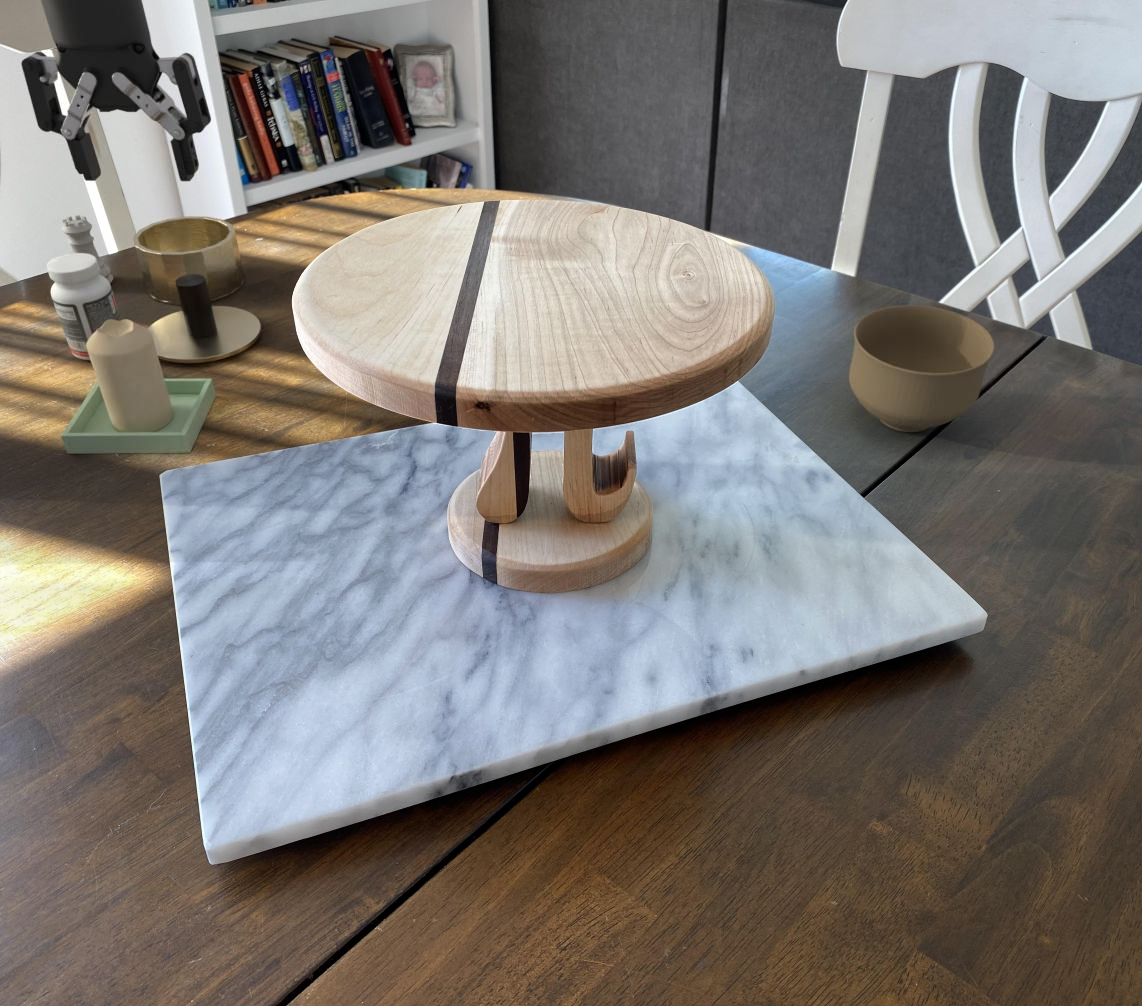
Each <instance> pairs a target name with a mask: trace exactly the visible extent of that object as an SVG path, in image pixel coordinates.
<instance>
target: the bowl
mask: <svg viewBox="0 0 1142 1006" xmlns="http://www.w3.org/2000/svg"><path fill="white" fill-rule="evenodd" d="M853 338H854V345H853V351H852V357H851V362H850V367H849V371H848V372H849V373H848V381H849V385H850V388H851V391H852V392H853V395H854V397H856V399H857V400H858V402H859V403H860V405H861V406H862V407H863V408H864V409H865V410H866V411H867V412H869V414H871V415H872V416H874V417H875V418H877V419H879V421H880V422H881V423H882V424H883V425H885V426H886V427H887V428H890V429H892V430H895V431H899V432H903V433H918V432H922V431H925V430H927V429H930V428H935V427H937V426H942V425H944V424H947V423H949V422H952V421H954V420H956V419H957V418H959V417H960V416H962V415H964V414H965V413H966V412H968V411H969V410H970V409H971V408H972V407H973V406H974V405H975V403H976V402H977V400H978V399H979V396H980V393H981V389H982V385H983V382H984V381H983V380H984V377H985V374H986V370H987V367H988V364H989V363H990V361H991V359H992V358H993V356H994V354H995V348H996V347H995V341H994V339H993V336H992V334H990V332H989V331H988V330H987V329H986V328H985V327H984V326H982V325H981V324H980V323H978V322H977V321H976V320H973V319H972V318H969V317H968V316H965V315H964V314H962V313H958V312H956V311H952V310H949V309H945V308H940V307H935V306H929V305H919V304H905V305H892V306H887V307H882V308H879V309H877V310H874V311H870V312H869V313H867V314H866V315H864V316H863V317H862V318H860V320H859V321H857V323H856V325H855V326H854V330H853Z"/></svg>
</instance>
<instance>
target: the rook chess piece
mask: <svg viewBox="0 0 1142 1006" xmlns="http://www.w3.org/2000/svg"><path fill="white" fill-rule="evenodd" d="M62 223H63V225H62V227H61V232H63V233H64V234H65V235H66V236H68V239H67V243H68V244H69V245H70V247H71V250H72V253H86V254H91V255H93V256H95V257H96V259H97V261H98V264H99V267H100V272H99V275H101V276H103V277H105V278H106V279H107V280H108V281H109V283H110V285H111V284H112V282H113V280H114V276H113V274H111V269H110V267H109V266H108V265H107V264H105V261H104V260H103V259H101V257H100V256H99V253H98V252H97V249H96V247H95V244H94V239H95V238H94V236H92V235H91V231H92V228H93V224H92V223H91V222H89V220H87V217H86V216H85V215H83V216H81V215H80V214H79V215H75V219H73V217H72V215H70V216H67V217H66V218H63V219H62Z"/></svg>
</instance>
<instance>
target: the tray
mask: <svg viewBox="0 0 1142 1006" xmlns="http://www.w3.org/2000/svg"><path fill="white" fill-rule="evenodd" d="M164 380H165V384H166V387H167V391H168V394H169V398H170V402H171V405H172V409H173V418H172V420H171V421H170V422H169V423H168V424H167V425H166V426H165V427H163V428H161V429H159V430H157V431H154V432H138V433H120V432H118V431H117V430H116V429H115V428H114V427H113V425H112V422H111V420H110V417H109V414H108V411H107V408H106V405H105V402H104V399H103V396H102V393H101V390H100V387H99V384H98V381H96V382H95V383H94V385H93V387H92V388H91V389H90V391H89V393H88V394H87V395H86V397H85V399H84V400H83V402H82V403H81V405H80V406H79V407H78V409H77V410H76V411H75V414H74V415H73V417H72V418H71V419H70V421H69V423H68V425H66V427H65V429H64V430H63V432H62V433H61V435H60V438H61V440H62V443H63V446H64V448H65V451H66V454H68V455H69V454H70V455H73V454H74V455H77V454H81V455H83V454H85V455H88V454H89V455H90V454H185V453H186V454H190V453H191V452H192V449H193V447H194V445H195V443H196V441H197V438H198V437H199V434H200V432H201V429H202V427H203V425H204V423H205V422H206V419H207V417H208V415H209V412H210V410H211V408H212V406H213V404H214V401H215V398H216V397H217V392H216V389H215V384H214V380H213V378H164Z"/></svg>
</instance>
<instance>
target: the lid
mask: <svg viewBox="0 0 1142 1006" xmlns="http://www.w3.org/2000/svg"><path fill="white" fill-rule="evenodd" d="M175 283H176V287H177V291H178V295H179V299H180V303H181V305H180V306H181V310H179V311H176V312H172V313H170V314H168V315H166V316H163V317H161V318H159V319H158V320H156V321H155V322H154V323H151V325H150V326H149V327H147V328H146V329H147V330H149V331H150V332H151V334H152V337H153V341H154V344H155V348H156V351H157V355H158V359H160V360H162V361H165V362H171V363H177V364H178V363H180V364H199V363H207V362H214V361H219V360H222V359H226V358H229V357H232V356H235V355H237V354H240V353H241V352H244V351H246V350H247V349H249V348H250V347H251V346H253V345H254V344H256V342H257V341H258V340H259V338H260V336H261V333H262V325H261V321H260V320H259V318H258V317H257V316H256V315H255V314H253V313H252V312H250V311H248V310H246V309H245V310H244V309H242V308H239V307H234V306H227V305H226V306H225V305H212V302H211V301H210V297H209V292H208V288H207V284H206V279H205V277H204V276H202V275H198V274H189V275H184V276H181V277H179V278H178V279H176V281H175Z"/></svg>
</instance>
